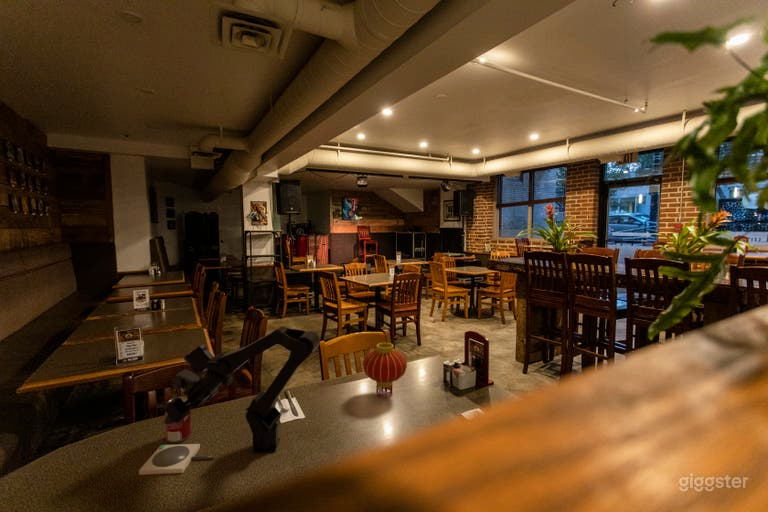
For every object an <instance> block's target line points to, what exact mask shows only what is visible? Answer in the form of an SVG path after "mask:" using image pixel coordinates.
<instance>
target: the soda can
mask: <svg viewBox="0 0 768 512" xmlns="http://www.w3.org/2000/svg"><path fill="white" fill-rule="evenodd" d="M176 397H177V398H181V399H182V401H183V402H185V401H187V400H188V399H187V396H176ZM174 398H175V397H173V398H171V399H169V400H168V401H167V403H168V402H170V401H171V400H173V399H174ZM167 403H166V404H167ZM189 404H190V403H189ZM189 404H188V405H189ZM191 408H192V407H191ZM191 408H190V414H189V415H188V416H187V417H185V418H184V419H183V420H182V421H180V422H179V423H175V422H174V423H170V424H165V435H166V437H165V439H166V441H167V442H169V443H172V444H173V443H181V442H183V441H185V440H186V439H188V438H190V436H191V435H192V413H191V412H192V409H191ZM164 412H165V411H164ZM167 415H168V414H167V413H166V412H165V414H164V416H165V419H166V417H167Z"/></svg>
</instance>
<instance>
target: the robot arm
mask: <svg viewBox="0 0 768 512" xmlns="http://www.w3.org/2000/svg"><path fill="white" fill-rule="evenodd" d="M320 344H321V339H320V337H319V335H318V334H317V333H316V332H315V331H312V330H308V331H306V330H303V329H295V328H289V327H286V326H279V327H277V328H276V329H274V330H273V331H272V332H270V333H268V334H266V335H265V336H263V337H261V338H259V339H258V340H256V341H253V342H252V343H249V344H248V345H246V346H244V347H239V348H235V349H233V350H230V351H228V352H227V353H219V354H217V355H215V356H214V355H213V354H212V353H211V352H210V351H209V350H208V349H207V346H205V344H204V343H202V344H200V345H198V346H197V347H196V348H195V349H193V350H192V351H190V352H189V353H187V354H186V355H185V356H184V357H183V360H184V361H185V362H186V363H187V364H188V366H189V367H190V368H191V369H192V370H193V372H192V371H190V370H189V369H183V370H181V371H179V372H178V373H176V374H175V376H174V377H173V378H172V379H171V386H172V387H173V388H175V389H177V390H180V389H182V390H184V391H182V394H183V395H184V396H186V397H187V399H188V400H187V401H185V402H183V401H182V399H181V398H177V397H178V396H176V397H173V398H174V399H173V398H172V399H173V400H171V399H170V400H171V401H170V402H168V401H167V402H168V403H165V405H164V406H163V410H164V412H166V413H167V414H168V415H167V417H166V418H165V419H164V421H163V422H164V424H165V425H166V424H170V423H174V422H175V423H179V422H180V421H182V420H183V419H184V418H185V417H187V416H188V415H189V414H190V408H192V407H199V406H200V405H201V404H203V403H204V402H206V401H208V400H209V399H211V398H212V397H214V396H215V395H216V394H217V393H218V392H219V391H220V388H219V387H220V386H221V385H223V386H224V387H229V385H231V384H232V383H233V382H234V378H233V374H232V373H234V372H235V371H237V370H238V369H239V368H241V367H242V366H244V364H246V362H248V361H249V360H251V359H252V358H254V357H256V356H258V355H260V354H262V353H263V352H265V351H267V350H269V349H271V348H272V347H275V346H276V345H279V346H281V347H283V349H286V350H287V351H289V356H288V358H287V360H286V362H285V364H284V365H283V366H282V367H281V369H280V370H279V372H278V373H277V375H276V376H275V378H274V379H273V381H272V382H271V384H270V385H269V387H268V388H267V389H266V391H264V390H263V389H262V390H261V391H260V392H258V394H257V395H256V396H255V397H254V398H253V399H252V400H251V402H250V405H248V406H247V407H246V409H245V411H246V413H245V415H244V417H245V419H246V421H247V424H248V425H249V428H250V431H251V434H252V449H253V450H252V453H253V454H257V453H258V454H259V453H260V454H261V453H275V452H276V451H277V448H278V446H279V443H280V437H279V421H280V420H281V416H282V413H281V412H280V411H279V409H278V408H276V405H277V403H278V402H277V401H278V399H279V398H278V397H280V395H281V393H282V392H283V390H284V389H285V388H286V386H287V385H288V383H289V382H290V380H291V379H292V378H293V376H294V375H295V374H296V372H297V371H298V369H299V368H300V366H301V365H302V363H304V361H306V360H307V359H308V358H309V357H310V356H311V355H312V354H313V353H314V351H315V350H316V349H318V347H319V346H320ZM194 372H195V373H194ZM199 373H201V374H203V373H204V374H203V375H202V376H198V375H197V374H199ZM189 403H190V404H189ZM188 404H189V405H188Z"/></svg>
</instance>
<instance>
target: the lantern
mask: <svg viewBox="0 0 768 512" xmlns="http://www.w3.org/2000/svg"><path fill="white" fill-rule="evenodd" d="M386 321H387V320H385V322H384V325H385V326H384V327H385V328H384V329H385V330H384V335H386V330H387V329H386V327H387V325H386ZM394 347H395V345H394V343H390V342H379V343H377V344H376V347H375V348H374V349H372V350H371V351H369V352H367V354H366V355H365V357H364V358H363V361H362V368H363V371H364V374H365V375H366V376H367V377H368V378H369V379H371V380H372V381H374V382H376V388H375V389H376V392H375V393H377V394H378V395H379V393H378V390H379V391H380V397H381V396H382V397H383V398H385V397H387V398H388V392H387V389H388V390H390V392H389V395H390V396H391V395H392V396H393V384H394V383H393V382H396V381H398V380H399V379H401V378H403V376H404V375H405V373H406V370H407V368H408V365H407V364H408V362H407V358H406V357H405V355H403V353H402V352H400V351H399V350H397V349H395V348H394ZM383 389H385V391H383Z"/></svg>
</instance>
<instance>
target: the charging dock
mask: <svg viewBox="0 0 768 512" xmlns="http://www.w3.org/2000/svg"><path fill="white" fill-rule="evenodd" d="M200 447H201V444H200V443H185V444H183V443H182V444H160V445H159V447H158V448H157V449H156V450H155V452H154V453H153V454H152V455H151V456H150V457H149V458H148V459H147V461H145V463H144V464H143V465H142V466H141V467H140V468H139V470H138V475H141V476H142V475H162V474H163V475H164V474H183V473H184V472H185V470H186V469H187V467H188V466H189V464H190V463H191V461H192V460H193V461H198V460H214V459H215V455H205V456H204V455H199V456H198V455H197V456H195V455H196V454H197V453H198V451H199V450H200V449H201V448H200Z"/></svg>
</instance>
